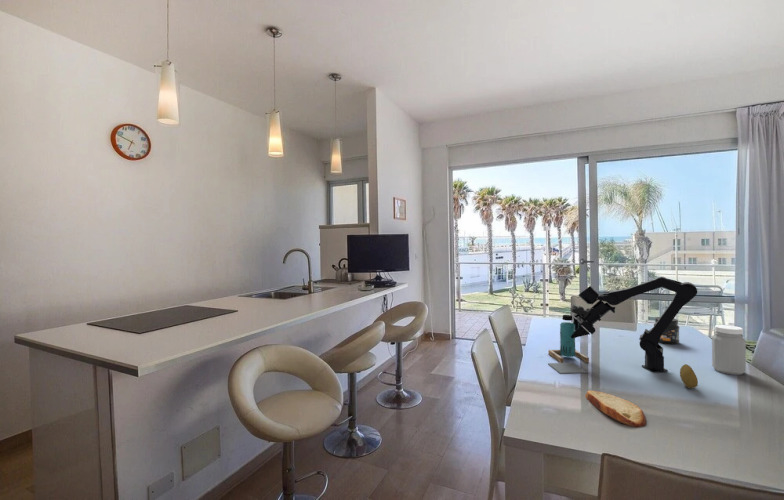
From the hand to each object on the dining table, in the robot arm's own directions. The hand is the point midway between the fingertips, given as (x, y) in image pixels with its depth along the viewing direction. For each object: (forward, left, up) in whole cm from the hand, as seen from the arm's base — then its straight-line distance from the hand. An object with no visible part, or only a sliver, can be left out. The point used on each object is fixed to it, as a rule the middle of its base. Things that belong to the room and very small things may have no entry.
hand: (569, 334), depth 161 cm
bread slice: (-49, +11, -11) cm, 51 cm away
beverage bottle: (0, +1, -11) cm, 11 cm away
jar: (-20, -54, -11) cm, 59 cm away
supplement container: (+21, -61, -11) cm, 66 cm away
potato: (-34, -26, -11) cm, 44 cm away
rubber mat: (-13, +8, -11) cm, 19 cm away
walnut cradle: (0, +1, -11) cm, 11 cm away
